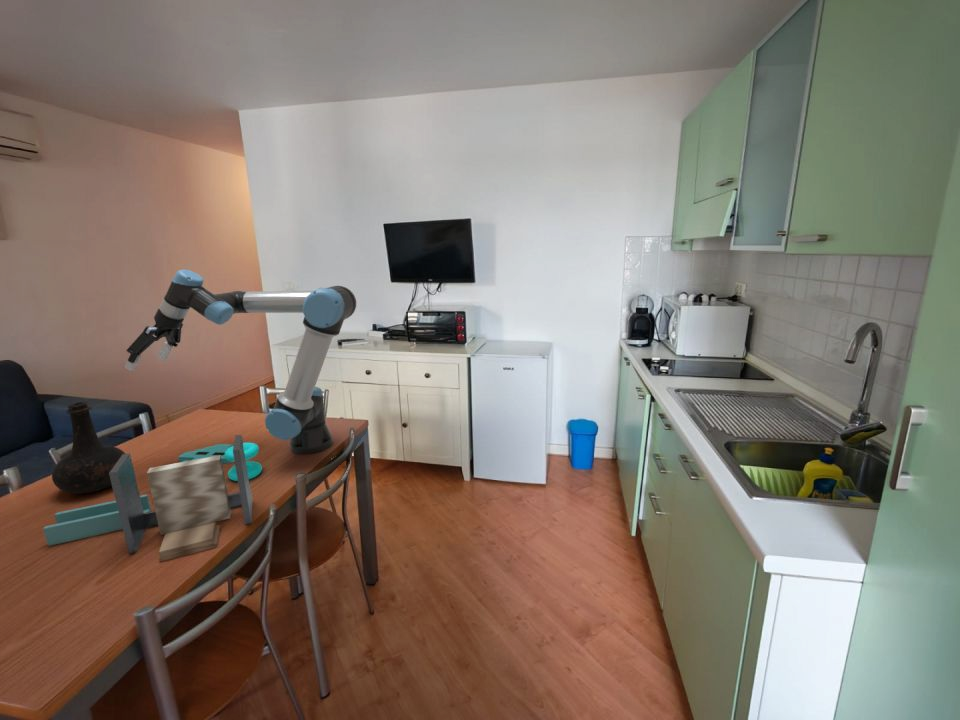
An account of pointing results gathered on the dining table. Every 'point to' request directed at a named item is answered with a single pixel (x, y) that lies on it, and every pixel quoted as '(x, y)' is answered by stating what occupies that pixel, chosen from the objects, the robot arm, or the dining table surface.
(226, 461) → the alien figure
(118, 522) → the teal open channel
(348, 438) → the dining table surface
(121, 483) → the rack
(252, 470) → the turquoise spool
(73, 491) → the glass bottle
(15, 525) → the dining table surface
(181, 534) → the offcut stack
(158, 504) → the birch sheet
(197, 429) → the dining table surface
